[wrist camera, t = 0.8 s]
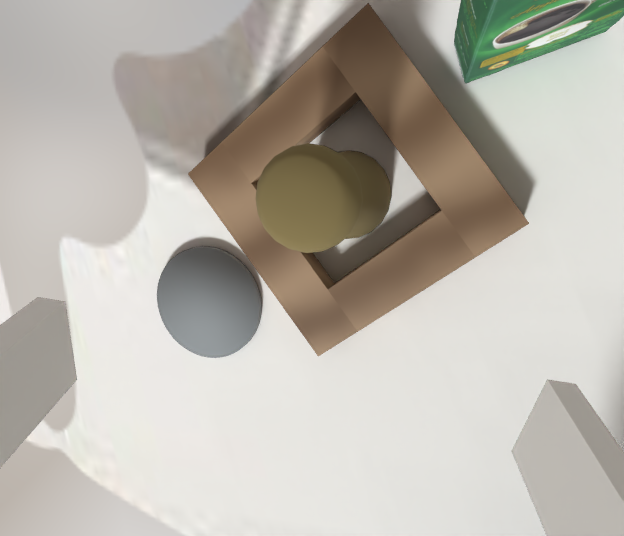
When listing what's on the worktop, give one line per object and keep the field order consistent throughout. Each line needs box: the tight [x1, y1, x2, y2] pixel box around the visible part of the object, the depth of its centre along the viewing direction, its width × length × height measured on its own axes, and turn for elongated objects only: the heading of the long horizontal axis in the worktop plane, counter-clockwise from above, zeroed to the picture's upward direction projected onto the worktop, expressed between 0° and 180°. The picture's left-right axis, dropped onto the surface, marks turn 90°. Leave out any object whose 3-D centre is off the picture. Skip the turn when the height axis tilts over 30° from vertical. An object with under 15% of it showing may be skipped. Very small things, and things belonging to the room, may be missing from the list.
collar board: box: [188, 3, 529, 356], centre depth 28 cm, size 16×16×2 cm
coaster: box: [157, 247, 262, 358], centre depth 34 cm, size 9×9×1 cm
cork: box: [255, 143, 391, 253], centre depth 24 cm, size 6×6×11 cm
